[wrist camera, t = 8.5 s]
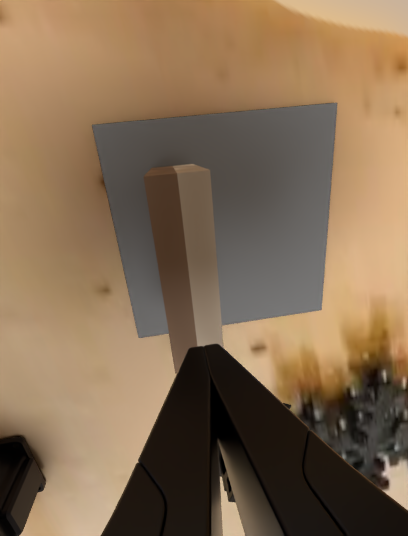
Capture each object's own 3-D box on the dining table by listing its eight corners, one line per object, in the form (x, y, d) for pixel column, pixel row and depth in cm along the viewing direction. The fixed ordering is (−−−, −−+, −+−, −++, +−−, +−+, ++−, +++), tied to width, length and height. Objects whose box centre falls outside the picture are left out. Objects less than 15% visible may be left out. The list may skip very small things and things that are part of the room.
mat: (139, 334, 21) (138, 338, 21) (93, 125, 16) (91, 124, 15) (318, 307, 22) (321, 310, 22) (333, 103, 17) (337, 102, 16)
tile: (171, 302, 20) (175, 373, 14) (151, 167, 16) (143, 176, 10) (205, 297, 20) (224, 365, 14) (192, 163, 17) (210, 170, 10)
